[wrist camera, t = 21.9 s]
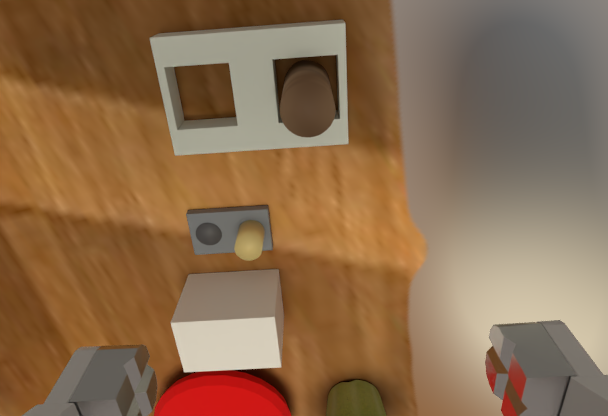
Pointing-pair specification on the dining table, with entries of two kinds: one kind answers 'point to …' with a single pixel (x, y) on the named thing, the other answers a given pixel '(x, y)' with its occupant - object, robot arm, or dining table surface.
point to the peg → (307, 99)
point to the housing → (230, 321)
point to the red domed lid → (221, 396)
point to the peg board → (248, 84)
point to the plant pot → (354, 400)
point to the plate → (231, 231)
